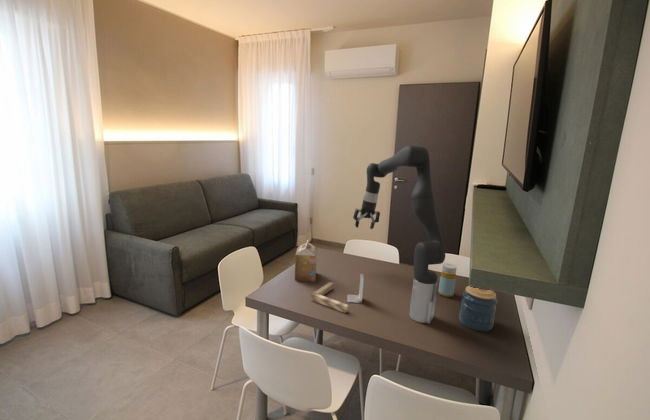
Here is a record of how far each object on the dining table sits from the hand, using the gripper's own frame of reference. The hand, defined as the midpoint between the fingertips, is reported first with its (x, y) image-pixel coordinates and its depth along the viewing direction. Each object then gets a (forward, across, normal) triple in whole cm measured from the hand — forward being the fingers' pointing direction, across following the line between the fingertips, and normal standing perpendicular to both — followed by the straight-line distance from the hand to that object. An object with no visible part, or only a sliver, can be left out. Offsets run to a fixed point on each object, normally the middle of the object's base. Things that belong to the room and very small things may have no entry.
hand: (364, 227), depth 174 cm
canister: (+17, +33, -60) cm, 71 cm away
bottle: (+18, +35, -35) cm, 53 cm away
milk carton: (+28, -30, -8) cm, 42 cm away
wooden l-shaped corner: (+24, -20, -34) cm, 46 cm away
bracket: (+23, -11, -36) cm, 44 cm away
